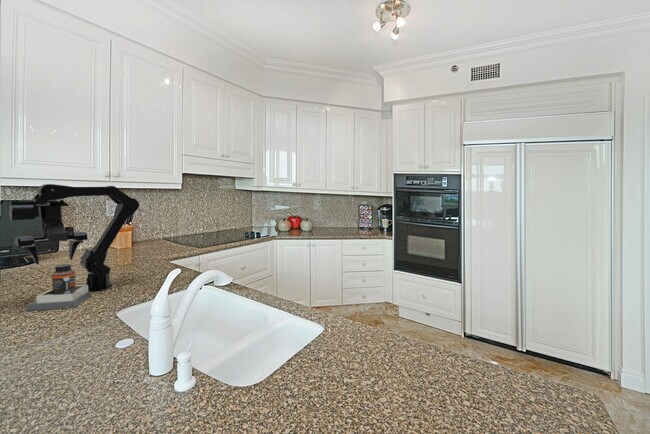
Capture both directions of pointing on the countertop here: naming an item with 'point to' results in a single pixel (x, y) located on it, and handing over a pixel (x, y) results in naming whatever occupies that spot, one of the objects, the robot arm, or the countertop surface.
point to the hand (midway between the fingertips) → (54, 262)
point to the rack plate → (59, 299)
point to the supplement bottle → (63, 279)
